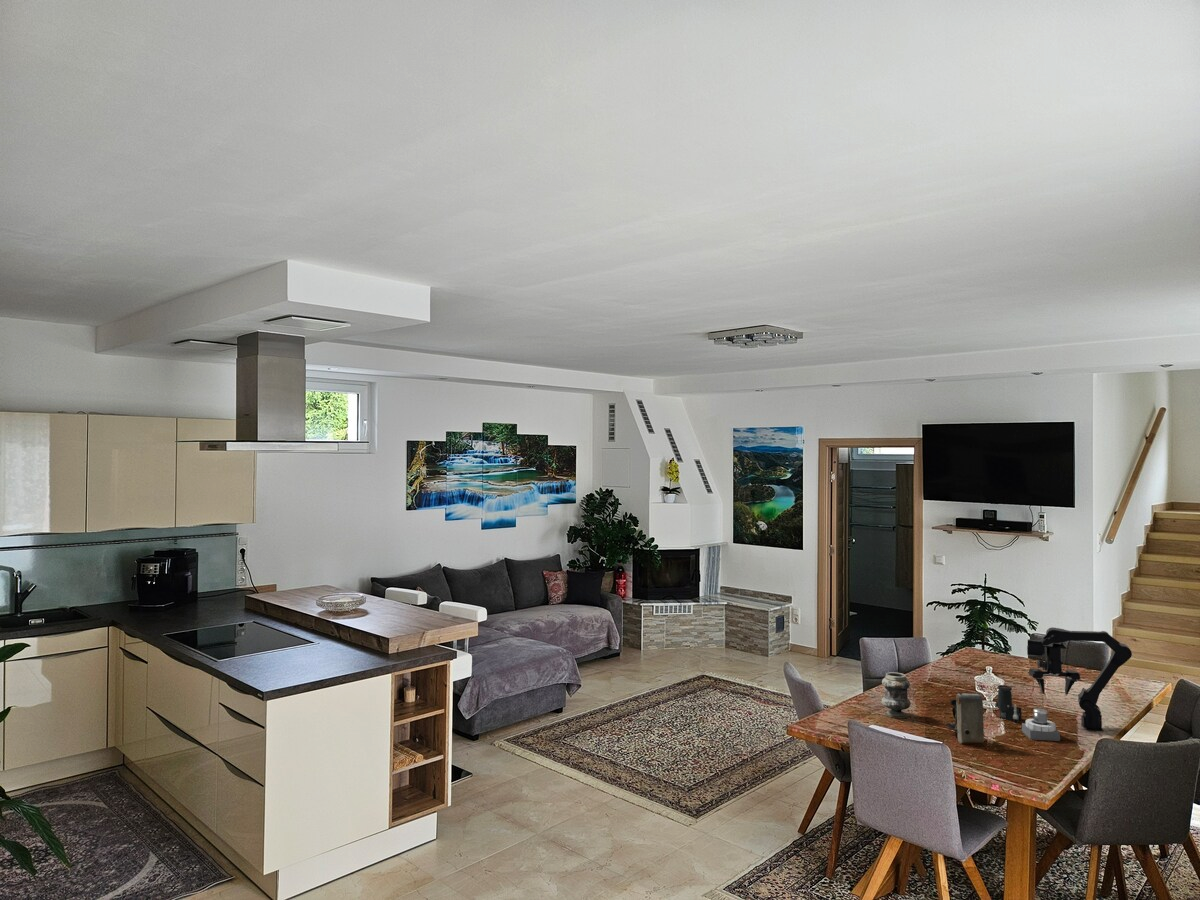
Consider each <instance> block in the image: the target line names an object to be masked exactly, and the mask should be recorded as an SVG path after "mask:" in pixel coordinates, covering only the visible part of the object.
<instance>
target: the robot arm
mask: <svg viewBox="0 0 1200 900" xmlns="http://www.w3.org/2000/svg"><path fill="white" fill-rule="evenodd" d="M1071 641H1073V642H1074V641H1075V642H1078V641H1079V642H1100V643H1101V642H1102V643H1104V644H1105V645H1106V646H1108V647H1109V648H1110V649H1111V650H1112V651H1111V653H1110V656H1109V659H1108V661H1107V663H1106V664H1105V666H1104V667H1103V669H1101V671H1100V672H1099V674H1098V675H1097V677H1095V680H1094V681H1093V682H1092V684H1091V685H1090V686H1089V687H1088V688H1085V687H1082V689H1081V691H1080V692H1079V693H1078V694H1077V701H1078V704H1079V707H1080V709H1081V710H1082V715H1081V716H1080V718H1081V719H1080V720H1081V723H1080V726H1081V727H1083V728H1084V729H1085V730H1087V731H1097V732H1100V731H1102V732H1104V728H1103V722H1102V720H1103V718H1102V712H1101V709H1100V706H1098V704H1097V703H1098V700H1099V697H1100V694H1101V693H1102V692H1103V690H1104V689H1105V687H1106V686H1107V684H1108V683H1109V682H1110V680H1111V679H1112V678H1113V676H1114V675H1115V674H1116V672H1117V671H1118V669H1119V668H1120V667H1122V666H1123V665H1125V664H1126V663H1127V662H1128V661H1129V660H1130V659H1131V658H1132V656H1133V654H1132V653H1133V652H1132V649H1131V648H1130V647H1129V646H1128V645H1127V644H1125V643H1121V642H1119V641H1118V640H1117V639H1116V638H1114V637H1113V636H1112V635H1110V634H1109V632H1107V631H1104V630H1102V631H1093V630H1092V631H1091V630H1090V631H1089V630H1086V631H1085V630H1067V629H1063V628H1060V627H1049V628H1048V629H1046V632H1045V636H1043V638H1042V639H1040V640H1034V639H1027V646H1026V654H1027V655H1026V656H1029V657H1030V656H1032V657H1040V658H1041V657H1043V656H1044V655H1046V658H1045V659H1044V660H1045V661H1044V660H1043V659H1038V660H1037V664H1036V665H1037V668H1029V670H1028V675H1029V676H1030V677H1031V678H1033V679H1034V680H1036V681H1037V684H1038V686H1039V689H1040V691H1041V694H1043V695H1044V694H1045V678H1044V677H1063V678H1064V680H1065V683H1064V684H1065V685H1064V686H1065V687H1064V693H1065V694H1064V695H1066V696H1067V695H1068V694H1069V693H1070V691H1071V688H1072V687H1073V685H1074V684H1075V683H1077V682H1078V681H1081V679H1082V678H1081V673H1080V672H1078V671H1076V670H1072V669H1066V670H1065V671H1063V664H1064V662H1063V655H1062V653H1063V651H1062V650H1063V649H1064V650H1067V646H1066V645H1065V644H1064V643H1067V642H1071ZM1045 649H1046V650H1045ZM1041 668H1042V670H1041Z"/></svg>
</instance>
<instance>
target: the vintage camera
mask: <svg viewBox="0 0 1200 900" xmlns="http://www.w3.org/2000/svg"><path fill="white" fill-rule="evenodd" d="M949 702H950V706H953V707H952V711H951V712H952V715H953V716H952V717H953V718H954V719H955V720H954V721H955V723H951V722H949V721H948V722H947V723H944V725H945V726H947V727H948V728H949V729H950V730H952V731H954V733H955V734H957V741H958V743H959V744H963V745H964V744H965V745H967V744H968V745H969V744H972V745H973V744H976V745H977V744H984V741H985V733H984V732H985V731H984V730H985V729H984V701H983V695H982V694H981V692H973V693H965V692H964V693H961V692H958V693H957V694H956V697H955V699H951V700H949Z"/></svg>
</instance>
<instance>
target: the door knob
mask: <svg viewBox="0 0 1200 900" xmlns="http://www.w3.org/2000/svg"><path fill="white" fill-rule="evenodd" d="M1032 711H1033V713H1032V714H1033V715H1032V716H1033V718H1032V719H1033V721H1034V723H1035V724H1038V725H1047V720H1048V710H1047V709H1043V708H1039V707H1037V708H1033V710H1032Z"/></svg>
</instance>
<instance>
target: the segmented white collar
mask: <svg viewBox="0 0 1200 900" xmlns="http://www.w3.org/2000/svg"><path fill="white" fill-rule="evenodd" d="M1056 725H1057V724H1056V723H1055V722H1054V721H1050V720H1048V719H1047V725H1038V724H1035V723H1034V721H1033V718H1027V719H1026V720H1025V722H1021V732H1022V733H1023V734H1024V735H1025V736H1026V737H1027V738H1028V739H1029V740H1034V741H1035V740H1037V741H1050V742H1051V741H1053V742H1061V732H1060V731H1059V730H1058V729H1057V727H1056Z"/></svg>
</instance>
